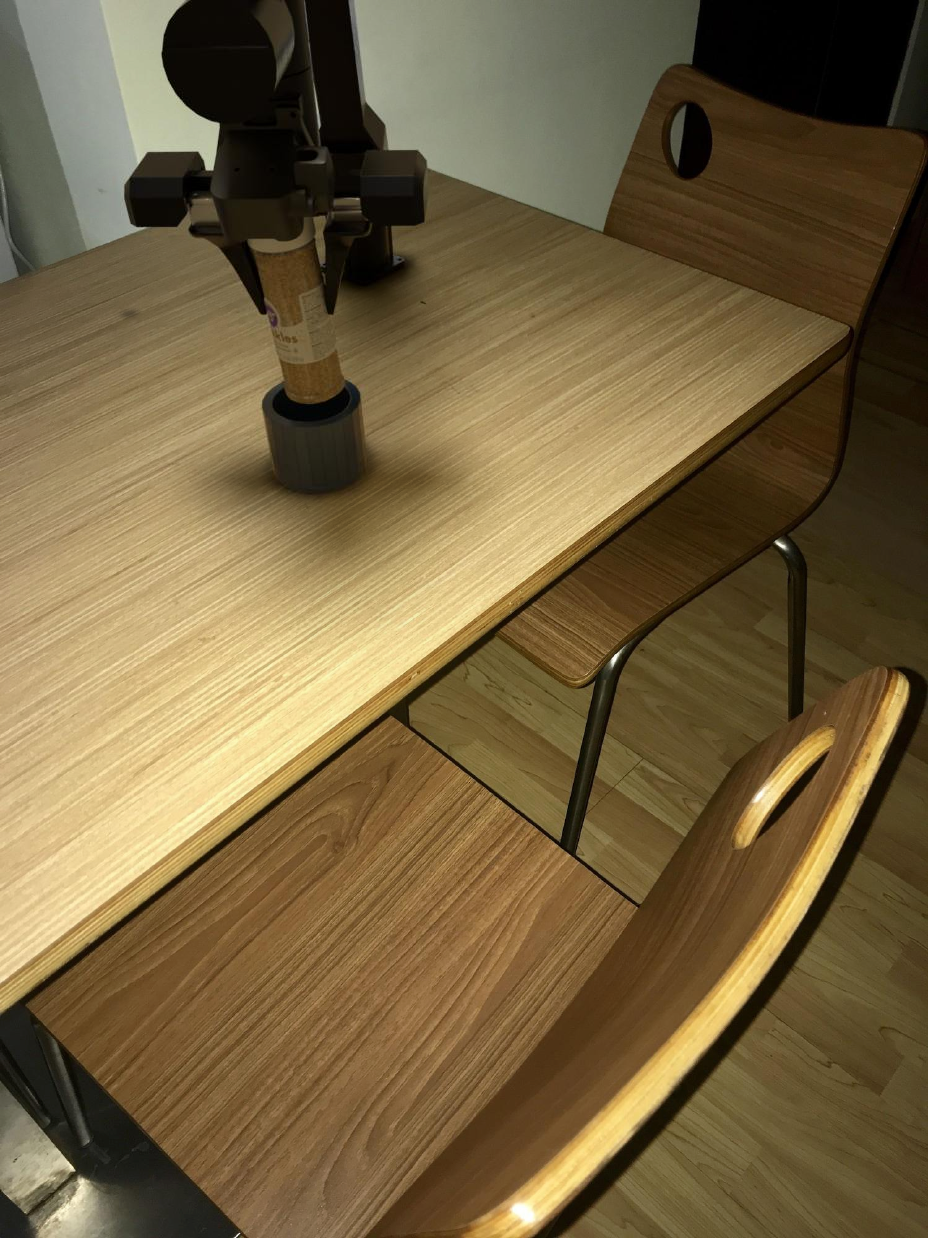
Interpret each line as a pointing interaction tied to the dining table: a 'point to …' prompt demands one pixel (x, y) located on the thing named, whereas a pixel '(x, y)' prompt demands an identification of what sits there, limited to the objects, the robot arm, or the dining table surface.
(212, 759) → the dining table surface
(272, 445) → the pot
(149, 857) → the dining table surface
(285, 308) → the sprinkles bottle
